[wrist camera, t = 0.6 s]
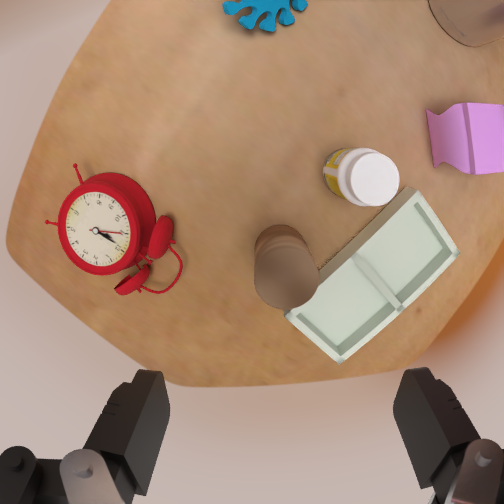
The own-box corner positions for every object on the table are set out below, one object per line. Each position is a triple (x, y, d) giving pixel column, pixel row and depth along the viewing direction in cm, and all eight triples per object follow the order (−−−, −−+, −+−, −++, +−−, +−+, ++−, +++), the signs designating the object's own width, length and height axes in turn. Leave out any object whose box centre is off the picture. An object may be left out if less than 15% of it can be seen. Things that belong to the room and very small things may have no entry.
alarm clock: (75, 148, 26) (185, 250, 25) (111, 154, 32) (210, 240, 31) (34, 233, 28) (126, 334, 28) (70, 227, 34) (156, 313, 34)
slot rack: (406, 186, 30) (418, 189, 27) (447, 245, 32) (460, 253, 29) (282, 303, 34) (284, 316, 31) (334, 350, 36) (339, 364, 33)
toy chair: (420, 100, 27) (515, 80, 13) (479, 101, 27) (574, 94, 12) (430, 177, 30) (528, 202, 15) (488, 171, 29) (582, 193, 15)
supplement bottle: (364, 200, 31) (398, 217, 23) (318, 192, 30) (340, 207, 22) (371, 153, 29) (408, 155, 21) (325, 144, 29) (350, 141, 21)
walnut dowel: (280, 214, 31) (288, 235, 24) (315, 249, 32) (332, 279, 25) (244, 249, 32) (240, 280, 25) (279, 282, 33) (285, 320, 26)
